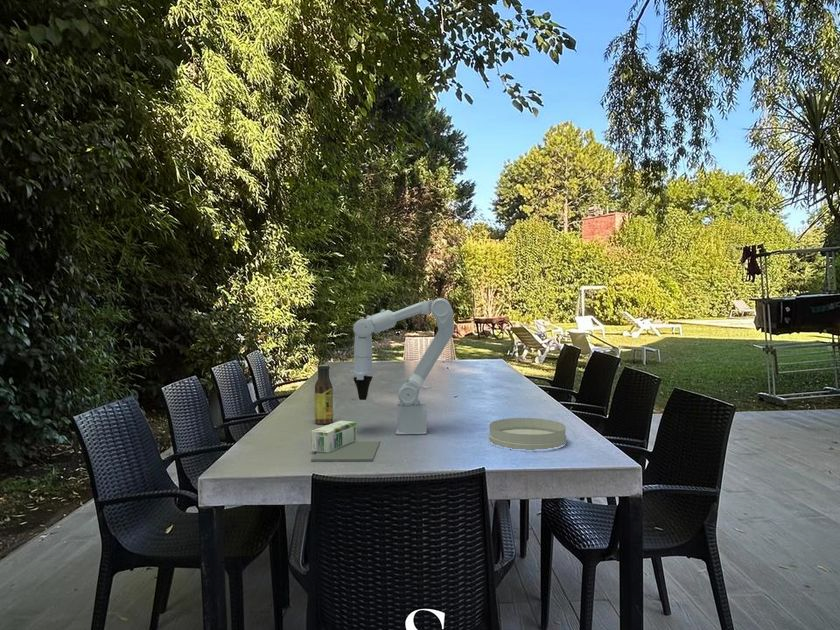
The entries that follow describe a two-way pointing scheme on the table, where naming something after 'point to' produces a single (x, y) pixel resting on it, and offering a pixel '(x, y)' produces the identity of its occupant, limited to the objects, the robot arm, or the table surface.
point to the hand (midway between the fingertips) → (362, 399)
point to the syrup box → (333, 436)
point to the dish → (527, 433)
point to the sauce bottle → (323, 396)
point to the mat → (350, 453)
